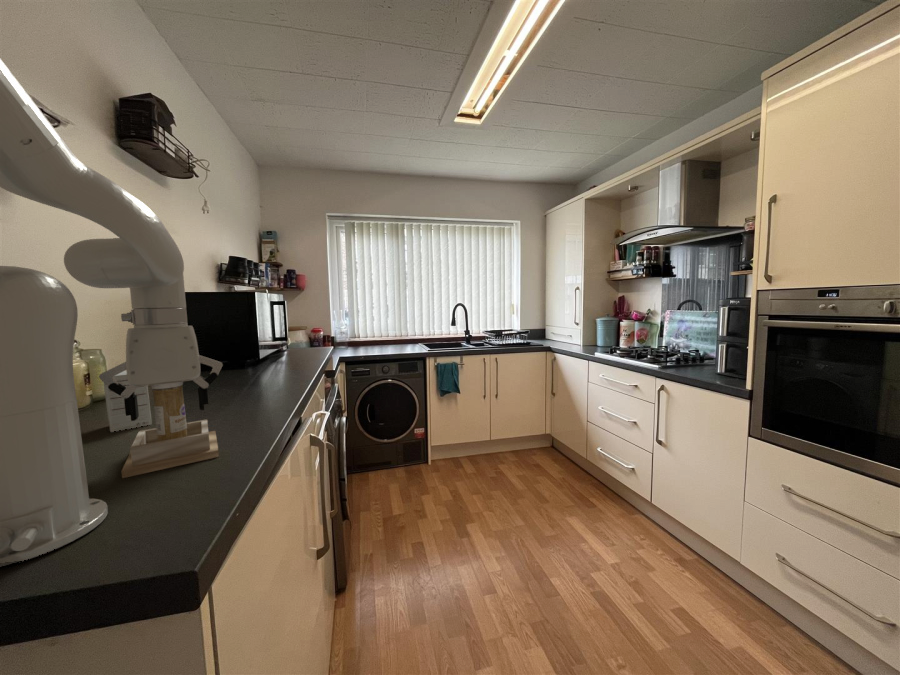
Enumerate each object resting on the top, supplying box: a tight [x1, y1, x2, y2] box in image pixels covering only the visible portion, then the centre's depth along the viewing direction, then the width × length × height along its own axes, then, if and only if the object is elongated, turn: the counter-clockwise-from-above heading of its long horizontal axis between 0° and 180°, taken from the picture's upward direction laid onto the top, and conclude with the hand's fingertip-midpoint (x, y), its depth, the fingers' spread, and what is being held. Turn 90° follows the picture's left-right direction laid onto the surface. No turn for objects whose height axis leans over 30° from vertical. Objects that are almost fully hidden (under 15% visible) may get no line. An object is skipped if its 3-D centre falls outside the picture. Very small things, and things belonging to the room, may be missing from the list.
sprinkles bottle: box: [150, 382, 188, 442], centre depth 66 cm, size 5×5×14 cm
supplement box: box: [103, 370, 152, 433], centre depth 84 cm, size 7×7×13 cm
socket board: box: [121, 419, 220, 479], centre depth 66 cm, size 13×13×4 cm
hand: (169, 413), depth 65 cm, fingers open, 9 cm apart
